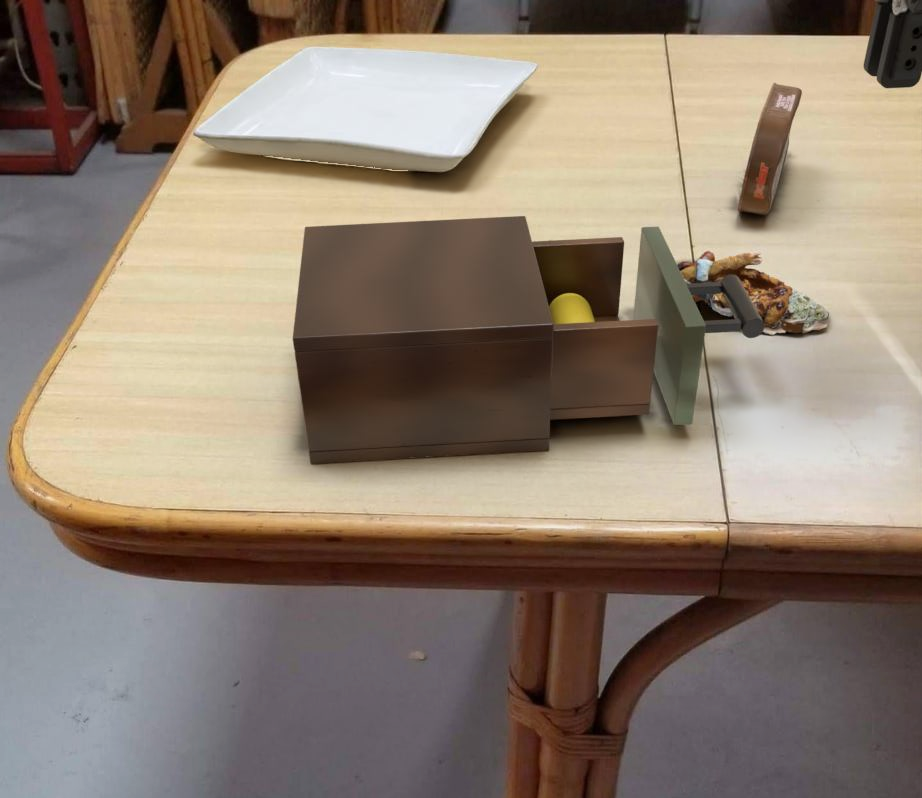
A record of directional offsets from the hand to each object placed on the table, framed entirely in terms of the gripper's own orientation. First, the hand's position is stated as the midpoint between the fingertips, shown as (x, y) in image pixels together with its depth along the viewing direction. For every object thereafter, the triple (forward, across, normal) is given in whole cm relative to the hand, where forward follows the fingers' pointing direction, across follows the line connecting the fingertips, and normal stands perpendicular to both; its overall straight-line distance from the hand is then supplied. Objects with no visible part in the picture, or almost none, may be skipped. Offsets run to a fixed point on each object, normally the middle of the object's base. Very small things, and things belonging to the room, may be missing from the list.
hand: (889, 78), depth 60 cm
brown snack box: (+19, +29, -4) cm, 35 cm away
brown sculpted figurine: (+19, +9, +3) cm, 21 cm away
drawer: (+18, 0, +15) cm, 23 cm away
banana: (+17, 0, +17) cm, 24 cm away
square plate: (+19, +50, +30) cm, 61 cm away
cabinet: (+19, 0, +27) cm, 33 cm away
